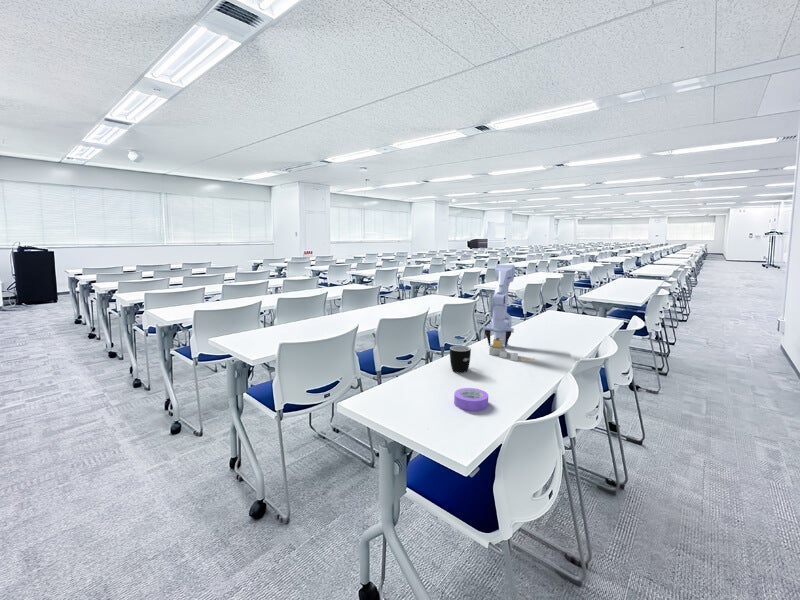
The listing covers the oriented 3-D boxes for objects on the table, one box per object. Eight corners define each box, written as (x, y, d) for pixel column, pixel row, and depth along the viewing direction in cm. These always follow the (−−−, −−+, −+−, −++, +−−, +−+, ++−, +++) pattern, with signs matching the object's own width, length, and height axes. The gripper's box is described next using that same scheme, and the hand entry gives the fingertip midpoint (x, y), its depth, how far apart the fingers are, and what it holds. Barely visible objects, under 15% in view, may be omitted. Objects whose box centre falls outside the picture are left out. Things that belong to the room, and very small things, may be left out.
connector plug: (493, 352, 189) (494, 336, 188) (501, 352, 188) (502, 337, 186) (492, 354, 185) (493, 338, 184) (501, 355, 184) (501, 339, 183)
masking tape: (464, 394, 141) (464, 384, 140) (493, 403, 134) (494, 392, 133) (447, 405, 132) (447, 395, 131) (478, 415, 125) (478, 404, 124)
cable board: (489, 351, 193) (489, 343, 192) (535, 355, 186) (535, 346, 185) (487, 361, 177) (487, 352, 177) (537, 365, 171) (537, 356, 170)
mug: (463, 375, 160) (464, 352, 158) (445, 371, 166) (445, 348, 164) (477, 368, 169) (477, 346, 167) (459, 363, 175) (460, 342, 173)
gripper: (482, 319, 182) (481, 346, 184) (514, 321, 178) (512, 349, 180) (483, 316, 189) (483, 343, 191) (514, 318, 184) (513, 345, 187)
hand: (497, 345), depth 186 cm, fingers open, 7 cm apart
